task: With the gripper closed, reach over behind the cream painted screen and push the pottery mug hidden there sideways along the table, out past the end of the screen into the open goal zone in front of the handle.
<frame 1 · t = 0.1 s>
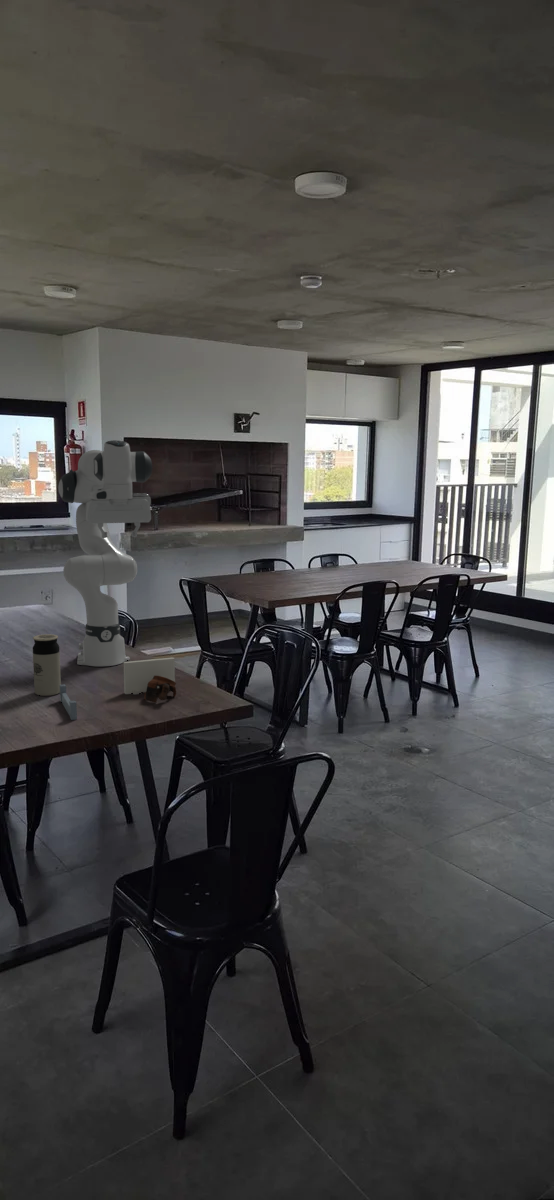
hand: (119, 537, 254), 48 cm above the table, tool pointing down, fingers open, 8 cm apart
pottery mug: (161, 700, 246), on the table
handle: (68, 709, 235), on the table
travel mug: (48, 693, 252), on the table
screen: (149, 690, 255), on the table
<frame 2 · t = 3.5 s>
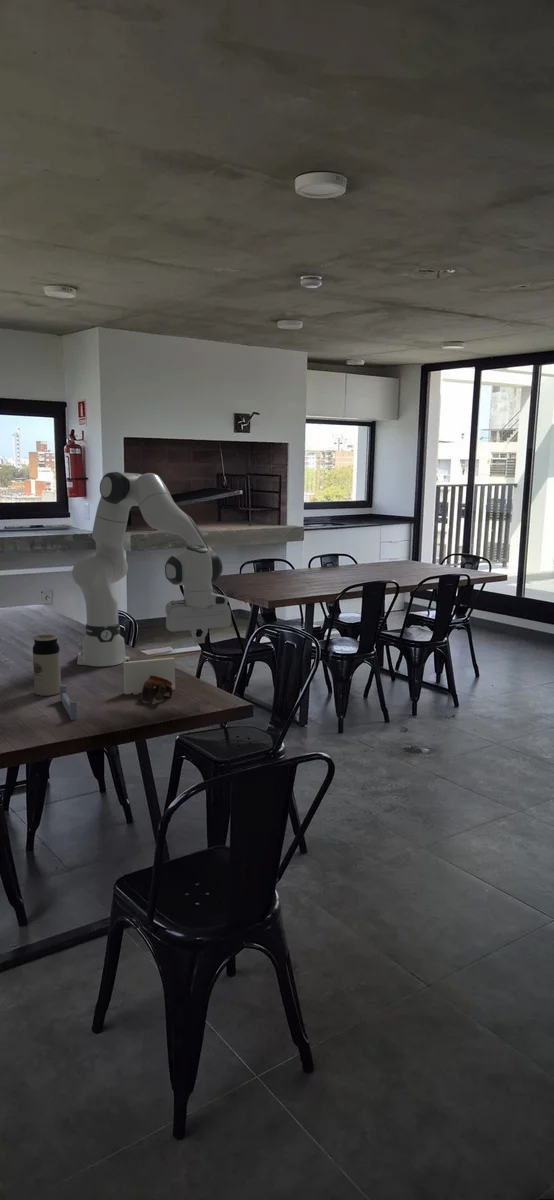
hand: (199, 643, 248), 17 cm above the table, tool pointing down, fingers closed
pottery mug: (157, 700, 246), on the table
everything else where it was.
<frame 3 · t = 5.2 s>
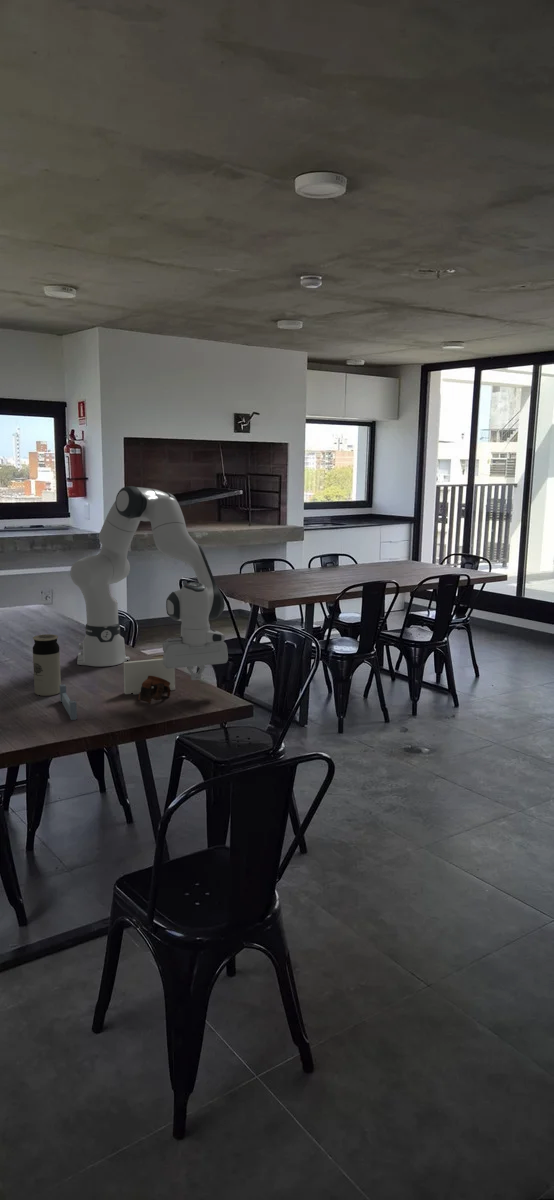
hand: (195, 679, 250), 5 cm above the table, tool pointing down, fingers closed
nothing on the table moved.
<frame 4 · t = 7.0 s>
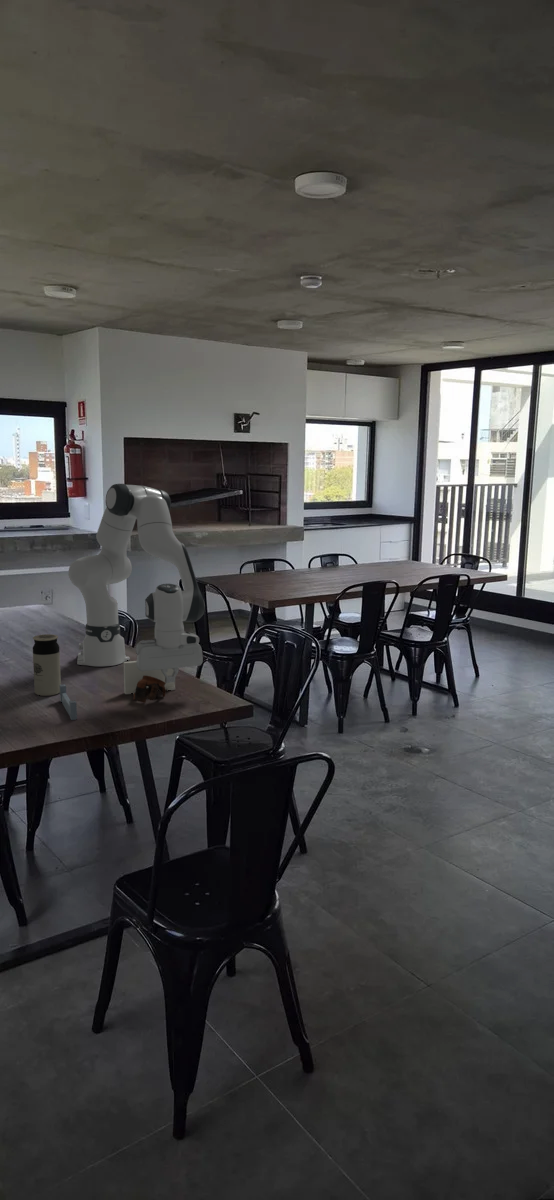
hand: (170, 682, 246), 5 cm above the table, tool pointing down, fingers closed
pottery mug: (150, 700, 245), on the table, touching gripper
everything else where it was.
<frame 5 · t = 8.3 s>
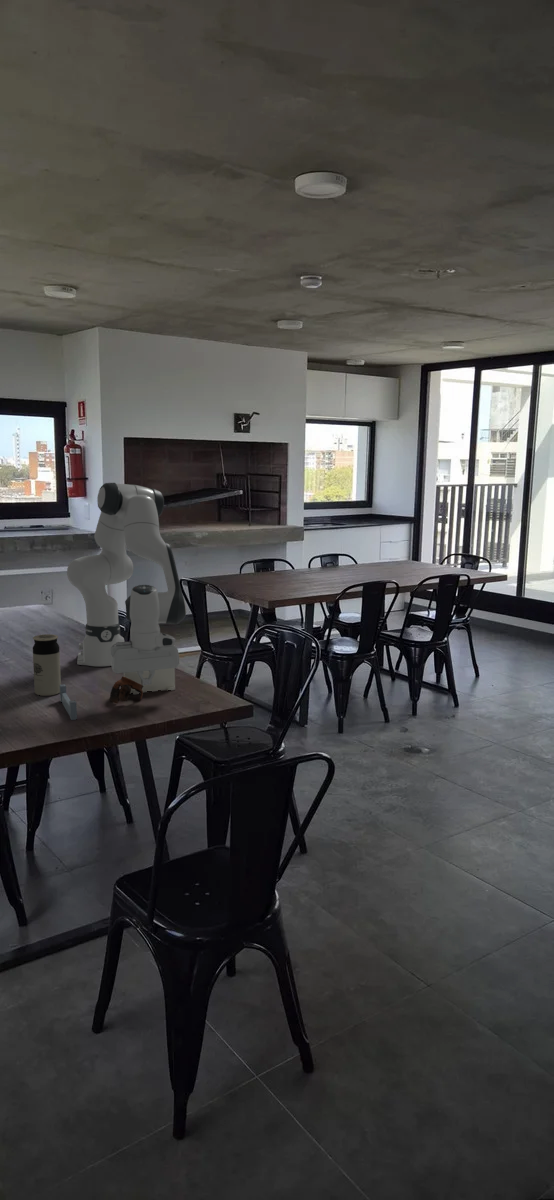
hand: (146, 684, 243), 5 cm above the table, tool pointing down, fingers closed
pottery mug: (125, 701, 244), on the table, touching gripper
everything else where it was.
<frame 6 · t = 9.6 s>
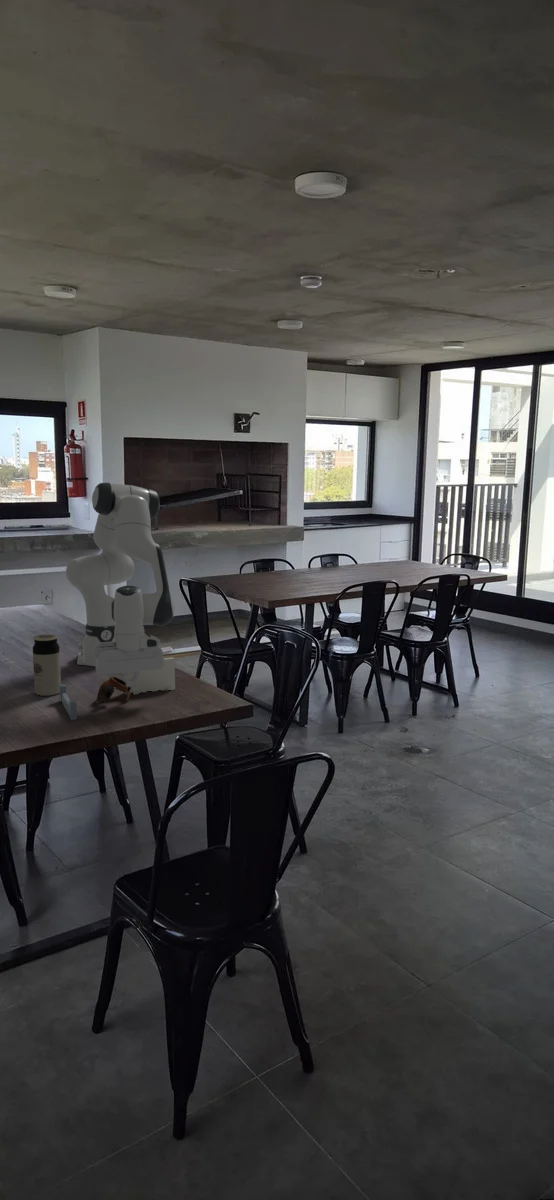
hand: (130, 686, 241), 5 cm above the table, tool pointing down, fingers closed
pottery mug: (111, 702, 243), on the table, touching gripper
everything else where it was.
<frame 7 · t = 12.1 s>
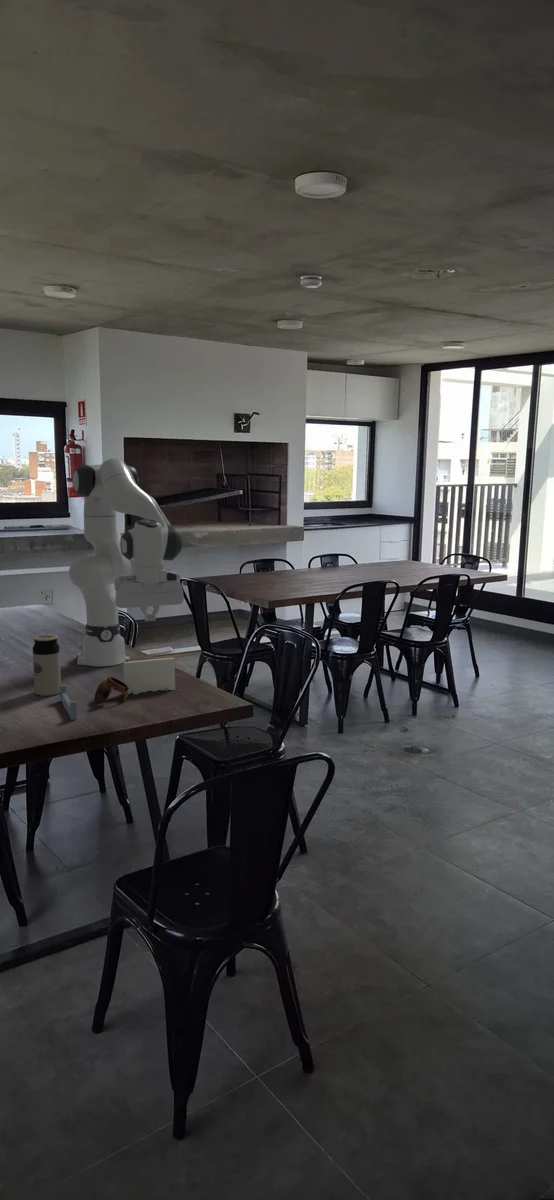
hand: (150, 620, 241), 25 cm above the table, tool pointing down, fingers closed
pottery mug: (109, 702, 243), on the table
everything else where it was.
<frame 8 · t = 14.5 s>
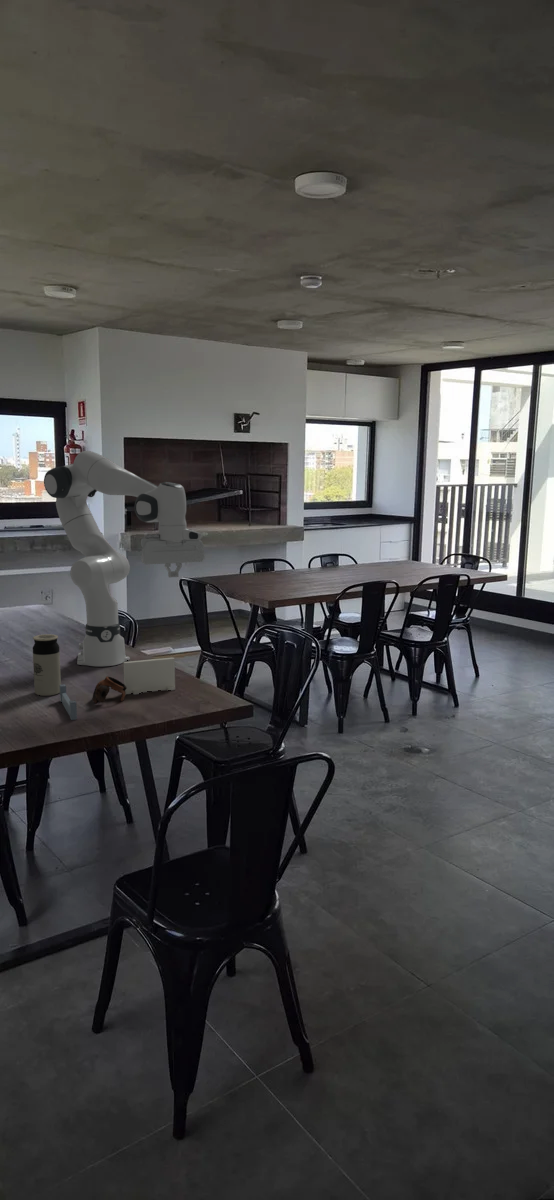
hand: (173, 577, 258), 35 cm above the table, tool pointing down, fingers closed
nothing on the table moved.
at the end: pottery mug inside the target area (4.9 cm from its centre), on the table; pottery mug tilted 0°; pottery mug moved 16.3 cm from its start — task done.
